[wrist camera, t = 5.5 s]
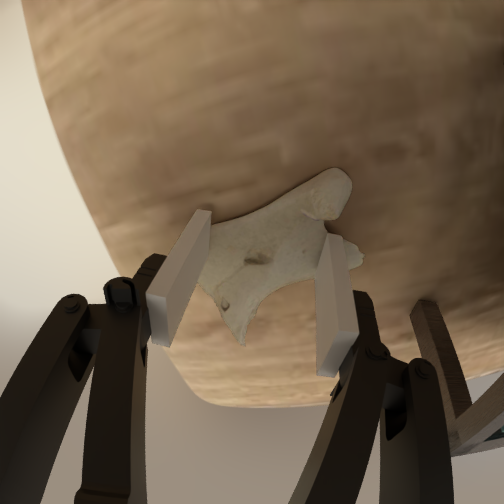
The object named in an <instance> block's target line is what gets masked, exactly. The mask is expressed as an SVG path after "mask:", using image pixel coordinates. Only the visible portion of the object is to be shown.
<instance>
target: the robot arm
mask: <svg viewBox="0 0 504 504" xmlns="http://www.w3.org/2000/svg"><path fill="white" fill-rule="evenodd" d="M211 214H212V211H207V210H201V209H197V210H196V212H195V213H194V215H193V216H192V218H191V219H190V221H189V222H188V224H187V226H186V227H185V229H184V230H183V232H182V233H181V235H180V237H179V238H178V240H177V241H176V243H175V245H174V246H173V248H172V250H171V251H170V253H169V254H168V256H165V255H160V254H155V253H154V254H152V255H151V256H149V257H148V258H146V259H145V261H144V262H143V263H142V265H141V267H140V268H139V269H138V271H137V273H136V274H135V275H134V277H133V278H132V279H131V278H128V277H117V278H114V279H111V280H110V281H108V282H107V283H106V284H105V286H104V287H103V290H104V295H105V299H106V304H88V302H87V300H86V298H85V297H84V296H82V295H80V294H70V295H67V296H65V297H63V298H62V299H61V300H60V301H59V302H58V303H57V304H56V306H55V307H54V309H53V310H52V312H51V313H50V315H49V316H48V318H47V319H46V321H45V322H44V324H43V325H42V327H41V328H40V330H39V331H38V333H37V335H36V336H35V338H34V339H33V341H32V343H31V344H30V346H29V347H28V349H27V351H26V352H25V354H24V356H23V357H22V359H21V361H20V363H19V364H18V366H17V368H16V370H15V371H14V373H13V375H12V377H11V378H10V380H9V382H8V384H7V386H6V388H5V389H4V391H3V393H2V395H1V397H0V504H40V503H41V500H42V497H43V494H44V491H45V488H46V485H47V482H48V479H49V476H50V473H51V470H52V467H53V464H54V462H55V459H56V456H57V453H58V451H59V448H60V445H61V443H62V440H63V437H64V435H65V432H66V430H67V427H68V425H69V422H70V420H71V417H72V415H73V413H74V410H75V408H76V405H77V403H78V401H79V398H80V396H81V394H82V391H83V389H84V387H85V385H86V382H87V380H88V378H89V375H90V374H91V371H92V369H93V367H94V371H93V377H92V383H91V390H90V397H89V404H88V413H87V420H86V430H85V440H84V453H83V468H82V484H81V487H80V489H79V490H78V491H77V492H76V495H75V498H74V504H147V492H146V468H145V467H146V465H145V402H146V401H145V400H146V374H147V356H148V349H147V341H148V339H149V337H150V335H151V339H152V343H154V344H158V345H162V346H166V347H170V346H171V343H172V341H173V338H174V336H175V333H176V331H177V329H178V326H179V324H180V321H181V319H182V316H183V314H184V312H185V309H186V307H187V305H188V302H189V300H190V297H191V295H192V293H193V290H194V288H195V286H196V283H197V281H198V279H199V276H200V274H201V272H202V269H203V267H204V265H205V262H206V260H207V258H208V255H209V240H210V227H211ZM315 300H316V375H318V376H326V377H334V378H335V376H336V374H337V372H338V371H339V376H340V380H339V381H338V383H337V384H336V386H335V388H334V389H333V391H332V392H331V394H330V396H332V398H331V401H330V404H329V407H328V409H327V412H326V415H325V418H324V420H323V423H322V426H321V429H320V431H319V434H318V436H317V439H316V441H315V444H314V446H313V449H312V451H311V454H310V456H309V458H308V461H307V463H306V465H305V468H304V470H303V472H302V475H301V477H300V479H299V481H298V484H297V486H296V488H295V490H294V492H293V495H292V497H291V499H290V501H289V503H288V504H355V503H356V500H357V497H358V494H359V491H360V488H361V485H362V482H363V478H364V475H365V472H366V468H367V465H368V461H369V458H370V454H371V450H372V447H373V443H374V439H375V435H376V431H377V427H378V422H379V418H380V496H379V504H454V491H453V476H452V466H451V455H450V446H449V438H448V431H447V424H446V418H445V412H444V406H443V400H442V395H441V390H440V385H439V380H438V375H437V372H436V369H435V367H434V366H433V365H432V364H431V363H430V362H429V361H427V360H426V359H423V358H415V359H413V360H411V361H410V363H409V364H408V363H405V362H403V361H400V360H397V359H395V358H393V357H392V356H390V352H389V350H388V348H387V347H386V346H385V345H384V344H383V343H381V340H380V335H379V330H378V325H377V321H376V318H375V311H374V307H373V302H372V300H371V298H370V297H369V296H368V294H367V293H366V292H362V291H356V290H352V285H351V279H350V274H349V269H348V263H347V258H346V253H345V248H344V243H343V239H342V236H341V235H336V234H331V233H327V236H326V240H325V243H324V247H323V250H322V253H321V257H320V260H319V263H318V266H317V270H316V273H315Z"/></svg>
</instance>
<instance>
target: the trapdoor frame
mask: <svg viewBox="0 0 504 504" xmlns="http://www.w3.org/2000/svg"><path fill="white" fill-rule="evenodd" d="M410 319H411V322H412V325H413V329H414V332H415V335H416V339H417V342H418V345H419V349H420V352H421V356H422V358H423V359H426V360H427V361H429V362H430V363H431V364H432V365H433V366H434V367H435V369H436V372H437V375H438V380H439V385H440V390H441V395H442V400H443V406H444V412H445V418H446V424H447V431H448V438H449V446H450V455H451V457H454V456H460V455H466V454H472V453H477V452H482V451H487V450H491V449H495V448H500V447H504V432H502V431H501V427H502V426H503V425H504V373H503V374H502V375H501V376H500V377H499V378H498V379H497V380H496V381H495V383H494V384H493V385H492V386H491V387H490V388H489V389H488V390H487V391H486V392H485V393H484V394H483V395H482V396H481V397H480V398H479V399H478V400H477V401H476V402H475V403H473V404H472V401H471V397H470V394H469V391H468V387H467V384H466V381H465V378H464V374H463V371H462V368H461V365H460V362H459V360H458V357H457V354H456V351H455V348H454V346H453V343H452V340H451V337H450V335H449V332H448V330H447V327H446V325H445V322H444V320H443V317H442V315H441V312H440V310H439V307H438V305H437V303H436V302H430V301H423V300H418V302H417V304H416V306H415V307H414V309H413V311H412V313H411V314H410Z"/></svg>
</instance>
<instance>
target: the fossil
mask: <svg viewBox="0 0 504 504" xmlns="http://www.w3.org/2000/svg"><path fill="white" fill-rule="evenodd" d="M351 192H352V182H351V179H350V178H349V177H348V176H347V174H346V173H345V172H343V171H342V170H340V169H339V168H330V169H327V170H325V171H323V172H321V173H320V174H319V175H317V176H315V177H314V178H312V179H311V180H309V181H307V182H305V183H303V184H302V185H300V186H298V187H296V188H295V189H293V190H291V191H290V192H288V193H286V194H285V195H283V196H282V197H280V198H279V199H277V200H275V201H274V202H272V203H271V204H269V205H267V206H265V207H263V208H261V209H259V210H257V211H255V212H252V213H250V214H248V215H246V216H243V217H240V218H237V219H233V220H230V221H226V222H222V223H217V224H214V225H211V227H210V240H209V255H208V258H207V260H206V262H205V265H204V267H203V269H202V272H201V274H200V276H199V279H198V281H197V283H198V284H199V285H200V287H201V288H202V289H203V290H204V291H205V292H206V293H207V294H208V295H209V296H210V297H211V298H212V299H214V302H215V303H216V306H217V307H218V308H219V311H220V312H221V316H222V318H223V320H224V321H225V323H226V324H227V326H228V327H229V328H230V329H231V332H232V334H233V335H234V337H235V338H236V340H237V341H238V342H239V343H240V344H241V345H243V346H245V335H246V331H247V325H248V324H250V320H251V319H253V318H254V317H255V314H256V311H257V308H258V306H259V304H260V302H261V301H262V300H263V299H264V298H266V297H267V296H268V295H270V294H271V293H273V292H274V291H276V290H277V289H279V288H282V287H284V286H287V285H290V284H292V283H296V282H300V281H304V280H310V279H315V273H316V270H317V266H318V263H319V260H320V257H321V253H322V250H323V247H324V243H325V240H326V236H327V233H328V231H327V230H326V229H325V227H324V220H334V219H337V218H338V217H339V216H340V215H341V213H342V211H343V209H344V207H345V205H346V203H347V201H348V199H349V197H350V194H351ZM343 243H344V248H345V253H346V258H347V263H348V269H349V270H351V269H354V268H356V267H358V266H360V265H362V263H363V258H364V257H365V255H364V253H361V252H360V251H359V249H358V247H357V246H356V245H355V244H353V243H351V242H348V241H347V240H345V239H343Z"/></svg>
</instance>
